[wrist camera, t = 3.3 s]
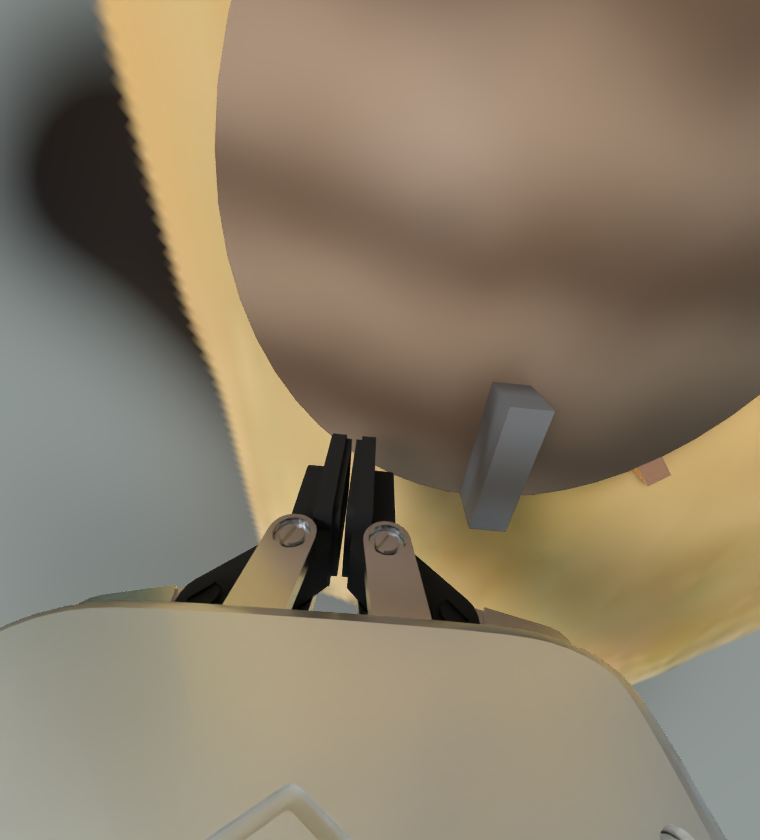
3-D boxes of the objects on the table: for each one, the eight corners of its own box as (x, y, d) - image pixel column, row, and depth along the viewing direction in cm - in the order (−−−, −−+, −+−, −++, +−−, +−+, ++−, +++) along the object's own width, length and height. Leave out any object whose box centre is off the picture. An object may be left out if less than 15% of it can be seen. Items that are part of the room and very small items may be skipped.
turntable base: (422, 51, 11) (426, 32, 10) (877, 113, 11) (927, 101, 10) (376, 448, 19) (376, 461, 18) (647, 473, 19) (662, 487, 18)
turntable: (190, -408, 7) (-49, -1184, 3) (1146, -237, 8) (1890, -695, 4) (265, 449, 18) (232, 508, 14) (658, 485, 19) (729, 550, 15)
